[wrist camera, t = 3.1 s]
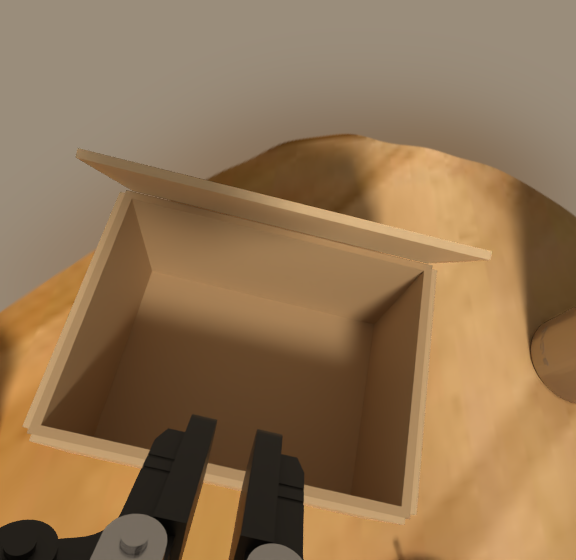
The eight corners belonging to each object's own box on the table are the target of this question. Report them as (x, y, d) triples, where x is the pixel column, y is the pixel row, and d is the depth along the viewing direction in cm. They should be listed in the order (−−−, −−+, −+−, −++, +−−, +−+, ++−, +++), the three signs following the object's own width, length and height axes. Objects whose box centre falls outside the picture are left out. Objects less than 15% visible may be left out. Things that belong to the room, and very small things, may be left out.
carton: (381, 323, 51) (437, 266, 38) (356, 518, 43) (415, 527, 31) (145, 266, 50) (121, 188, 37) (76, 455, 42) (17, 438, 30)
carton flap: (426, 263, 38) (428, 257, 38) (490, 260, 27) (492, 251, 27) (132, 191, 37) (134, 184, 37) (75, 157, 26) (77, 148, 26)
